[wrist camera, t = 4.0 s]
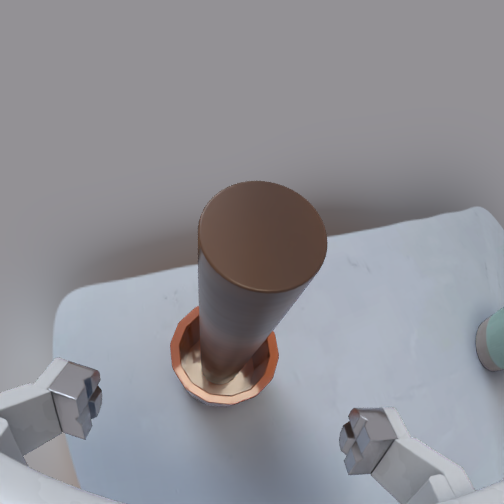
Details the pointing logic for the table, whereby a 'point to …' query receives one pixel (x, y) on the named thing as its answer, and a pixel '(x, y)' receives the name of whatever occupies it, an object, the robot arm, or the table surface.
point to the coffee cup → (491, 342)
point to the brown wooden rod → (252, 269)
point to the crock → (199, 387)
